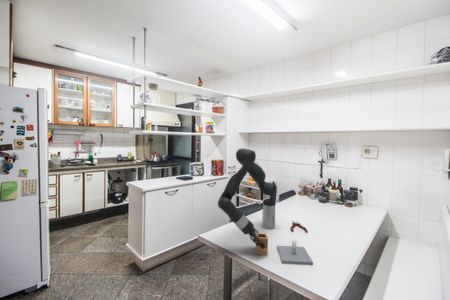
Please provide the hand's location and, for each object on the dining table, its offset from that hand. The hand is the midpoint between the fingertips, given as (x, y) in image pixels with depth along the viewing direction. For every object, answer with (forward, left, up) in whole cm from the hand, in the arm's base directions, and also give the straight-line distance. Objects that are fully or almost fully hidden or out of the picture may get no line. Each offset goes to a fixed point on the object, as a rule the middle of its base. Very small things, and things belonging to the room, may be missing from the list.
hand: (263, 244), depth 124 cm
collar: (0, -1, -5) cm, 5 cm away
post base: (+2, +17, -5) cm, 18 cm away
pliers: (-38, +31, -6) cm, 49 cm away
